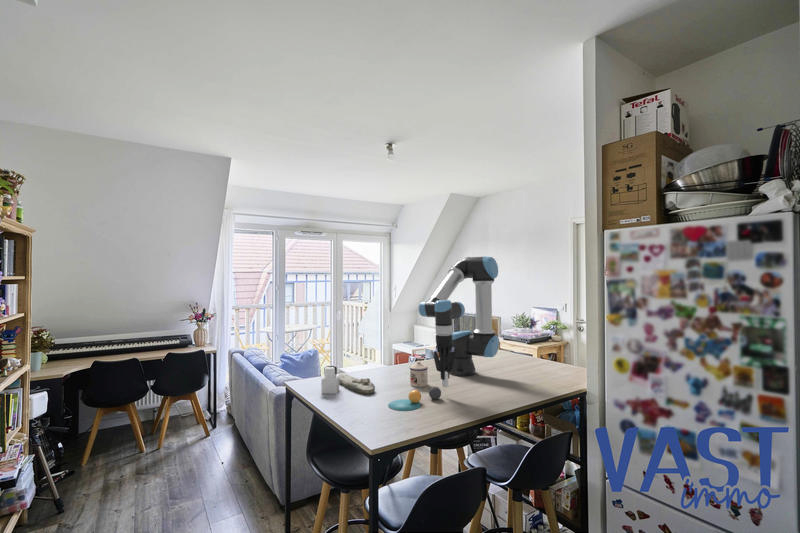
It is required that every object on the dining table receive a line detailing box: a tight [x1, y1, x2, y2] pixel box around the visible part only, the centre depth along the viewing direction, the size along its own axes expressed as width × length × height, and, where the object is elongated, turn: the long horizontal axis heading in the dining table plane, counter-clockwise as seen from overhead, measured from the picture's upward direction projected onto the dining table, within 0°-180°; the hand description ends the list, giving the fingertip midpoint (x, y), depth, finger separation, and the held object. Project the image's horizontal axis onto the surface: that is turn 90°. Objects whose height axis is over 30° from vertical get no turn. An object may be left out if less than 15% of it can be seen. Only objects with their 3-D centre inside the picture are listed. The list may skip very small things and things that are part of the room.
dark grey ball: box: [428, 386, 442, 401], centre depth 172 cm, size 6×6×6 cm
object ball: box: [408, 389, 422, 403], centre depth 168 cm, size 6×6×6 cm
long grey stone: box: [338, 373, 376, 395], centre depth 194 cm, size 35×5×10 cm
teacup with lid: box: [409, 360, 429, 388], centre depth 194 cm, size 12×9×12 cm
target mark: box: [387, 398, 422, 412], centre depth 165 cm, size 14×14×1 cm
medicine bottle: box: [321, 365, 340, 395], centre depth 186 cm, size 7×7×12 cm
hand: (445, 386), depth 176 cm, fingers closed
